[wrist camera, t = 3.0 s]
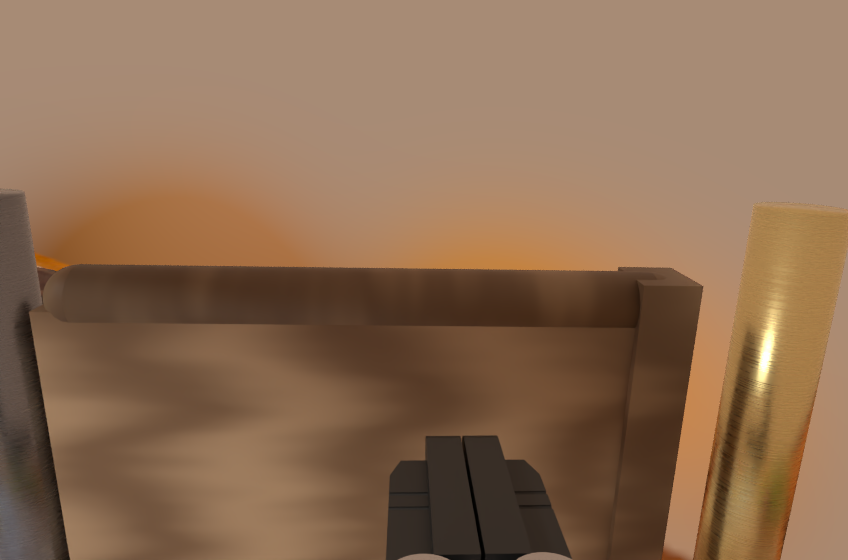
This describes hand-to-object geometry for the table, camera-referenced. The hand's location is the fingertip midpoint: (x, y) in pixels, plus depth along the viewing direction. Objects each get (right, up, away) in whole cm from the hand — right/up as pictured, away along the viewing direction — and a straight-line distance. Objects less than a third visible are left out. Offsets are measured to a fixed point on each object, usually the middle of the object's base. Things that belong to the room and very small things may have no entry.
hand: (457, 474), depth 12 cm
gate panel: (-3, -12, +9) cm, 15 cm away
